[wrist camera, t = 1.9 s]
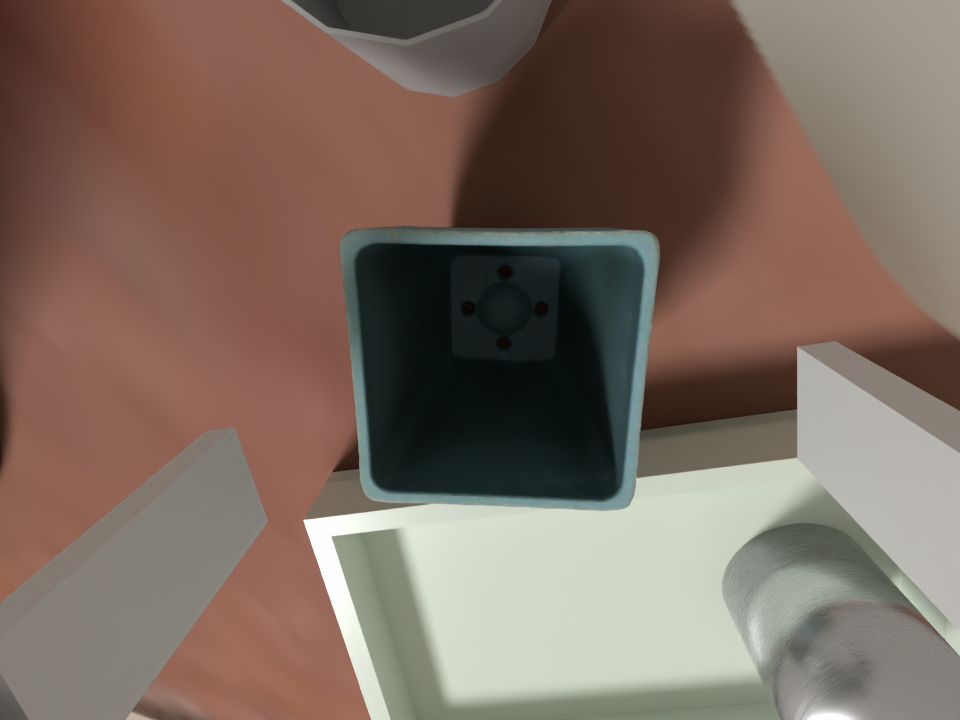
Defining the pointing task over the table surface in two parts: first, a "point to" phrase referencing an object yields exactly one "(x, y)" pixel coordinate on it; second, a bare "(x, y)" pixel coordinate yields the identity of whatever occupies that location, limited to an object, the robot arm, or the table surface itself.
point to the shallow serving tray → (575, 587)
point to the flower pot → (499, 363)
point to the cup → (432, 37)
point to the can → (836, 631)
